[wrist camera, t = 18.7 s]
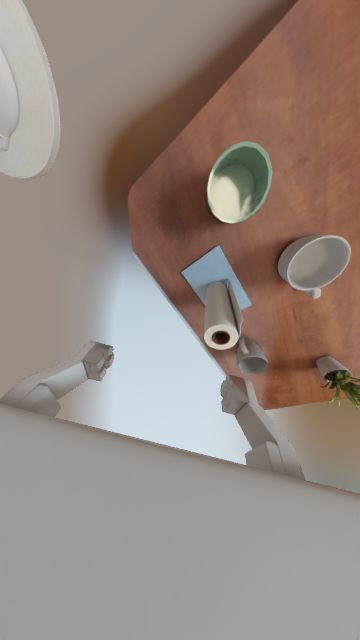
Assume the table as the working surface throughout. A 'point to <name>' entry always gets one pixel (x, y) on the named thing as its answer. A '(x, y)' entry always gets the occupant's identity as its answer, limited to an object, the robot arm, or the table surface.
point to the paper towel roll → (222, 316)
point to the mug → (250, 358)
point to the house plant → (338, 378)
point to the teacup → (314, 262)
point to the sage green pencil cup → (239, 182)
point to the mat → (214, 276)
